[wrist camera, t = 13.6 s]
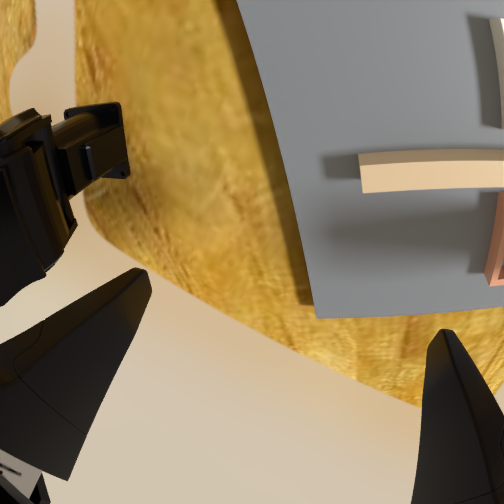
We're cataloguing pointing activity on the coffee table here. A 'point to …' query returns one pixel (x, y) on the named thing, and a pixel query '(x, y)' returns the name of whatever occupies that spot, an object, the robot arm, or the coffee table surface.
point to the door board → (387, 147)
